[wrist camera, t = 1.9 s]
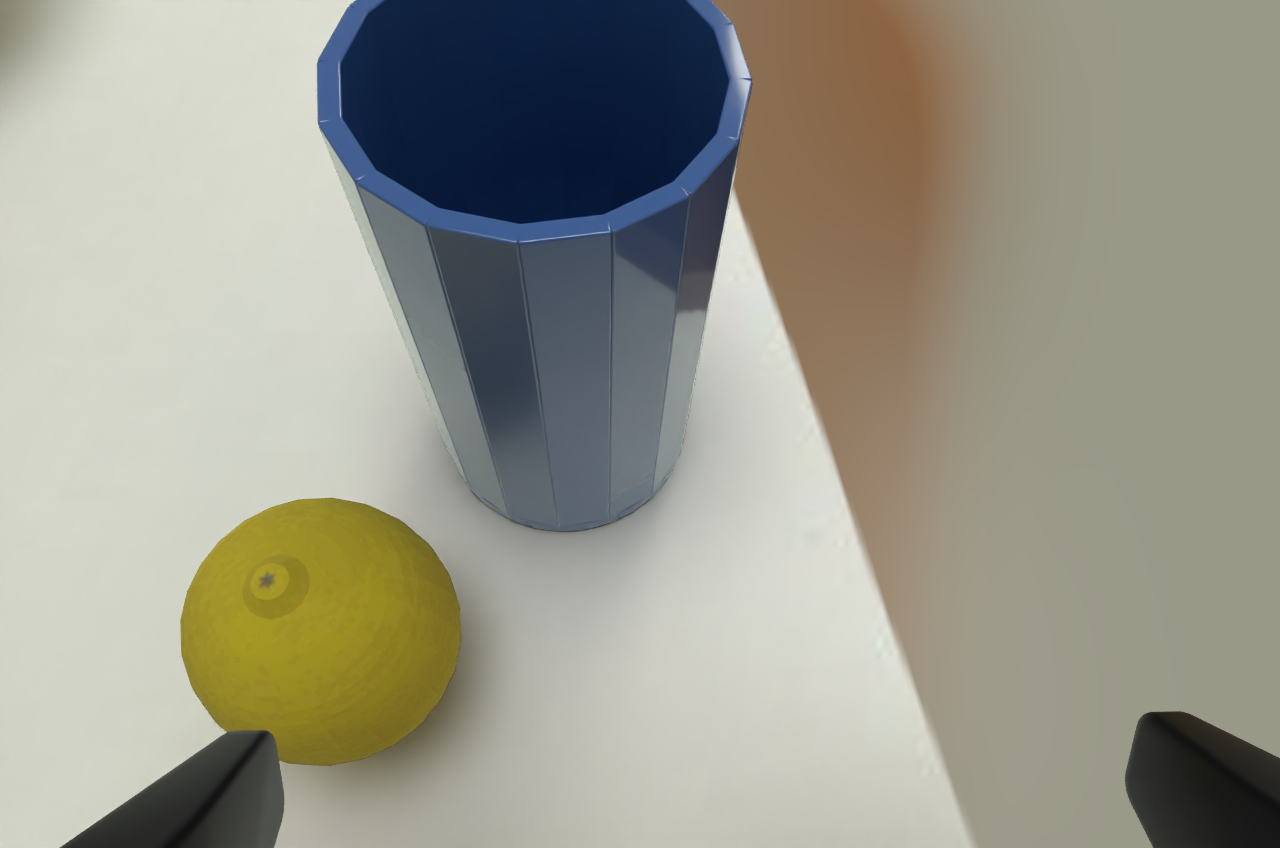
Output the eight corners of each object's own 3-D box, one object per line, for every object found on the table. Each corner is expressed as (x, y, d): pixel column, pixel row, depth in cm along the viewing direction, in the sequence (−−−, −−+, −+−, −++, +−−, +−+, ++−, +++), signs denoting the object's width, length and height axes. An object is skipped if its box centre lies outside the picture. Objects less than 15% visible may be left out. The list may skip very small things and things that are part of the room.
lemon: (380, 526, 24) (285, 390, 17) (524, 651, 23) (487, 561, 16) (222, 680, 22) (39, 600, 15) (370, 828, 21) (245, 819, 13)
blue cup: (706, 511, 25) (797, 211, 13) (458, 550, 24) (318, 267, 12) (660, 308, 28) (700, -80, 16) (439, 336, 27) (314, -50, 15)
